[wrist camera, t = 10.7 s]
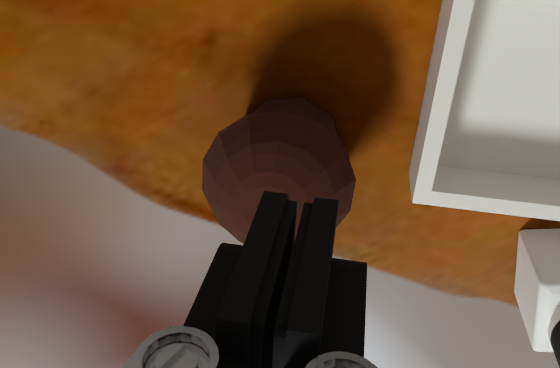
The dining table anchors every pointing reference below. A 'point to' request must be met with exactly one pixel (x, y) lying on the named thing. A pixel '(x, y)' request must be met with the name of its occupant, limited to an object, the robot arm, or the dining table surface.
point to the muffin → (276, 163)
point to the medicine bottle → (539, 287)
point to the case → (492, 110)
